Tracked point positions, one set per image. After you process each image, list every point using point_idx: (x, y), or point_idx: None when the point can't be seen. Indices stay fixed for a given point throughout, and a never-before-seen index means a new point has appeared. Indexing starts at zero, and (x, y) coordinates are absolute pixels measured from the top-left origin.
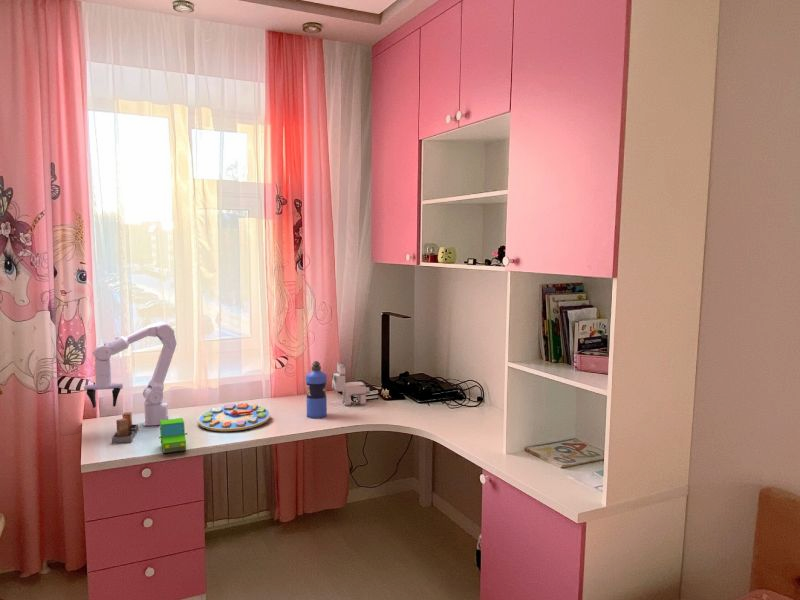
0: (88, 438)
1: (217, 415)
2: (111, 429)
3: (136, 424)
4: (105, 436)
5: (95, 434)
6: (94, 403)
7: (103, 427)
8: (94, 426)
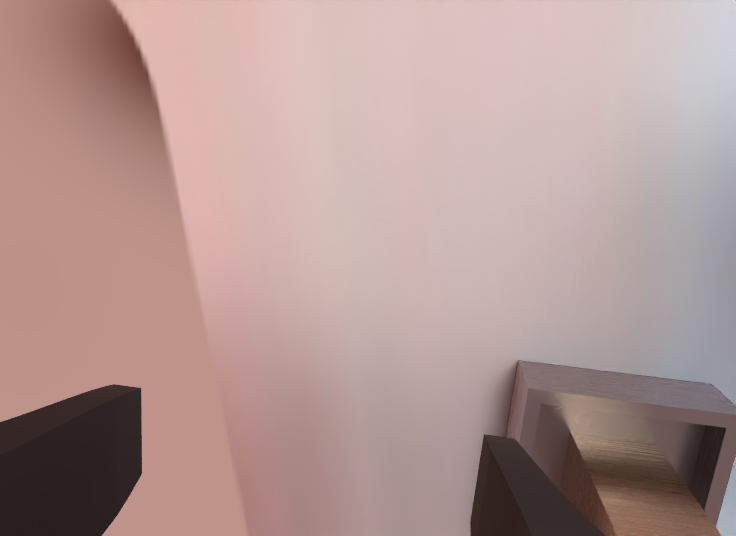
0: (239, 489)
1: None
2: (419, 260)
3: (723, 421)
4: (384, 487)
5: (280, 386)
6: (92, 521)
7: (322, 142)
8: (214, 58)
